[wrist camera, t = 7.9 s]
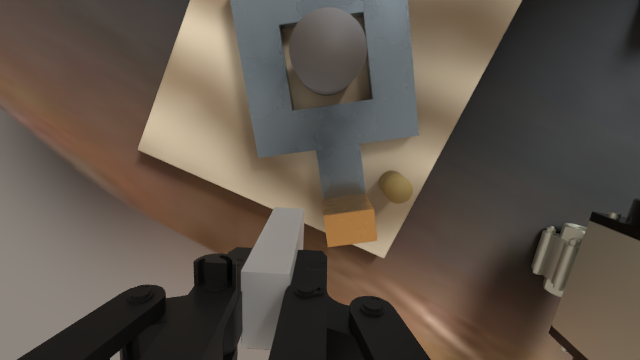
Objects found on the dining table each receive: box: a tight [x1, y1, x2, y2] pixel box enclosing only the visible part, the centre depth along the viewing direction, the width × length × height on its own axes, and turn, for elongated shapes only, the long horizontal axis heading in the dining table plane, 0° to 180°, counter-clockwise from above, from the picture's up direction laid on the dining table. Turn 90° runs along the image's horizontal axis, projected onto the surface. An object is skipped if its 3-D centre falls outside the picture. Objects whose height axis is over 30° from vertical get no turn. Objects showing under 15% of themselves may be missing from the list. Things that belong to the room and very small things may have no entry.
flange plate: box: [230, 0, 419, 247], centre depth 21 cm, size 16×11×5 cm, turn 8°
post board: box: [138, 0, 522, 258], centre depth 21 cm, size 22×20×7 cm
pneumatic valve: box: [531, 198, 640, 360], centre depth 21 cm, size 6×12×12 cm, turn 170°
